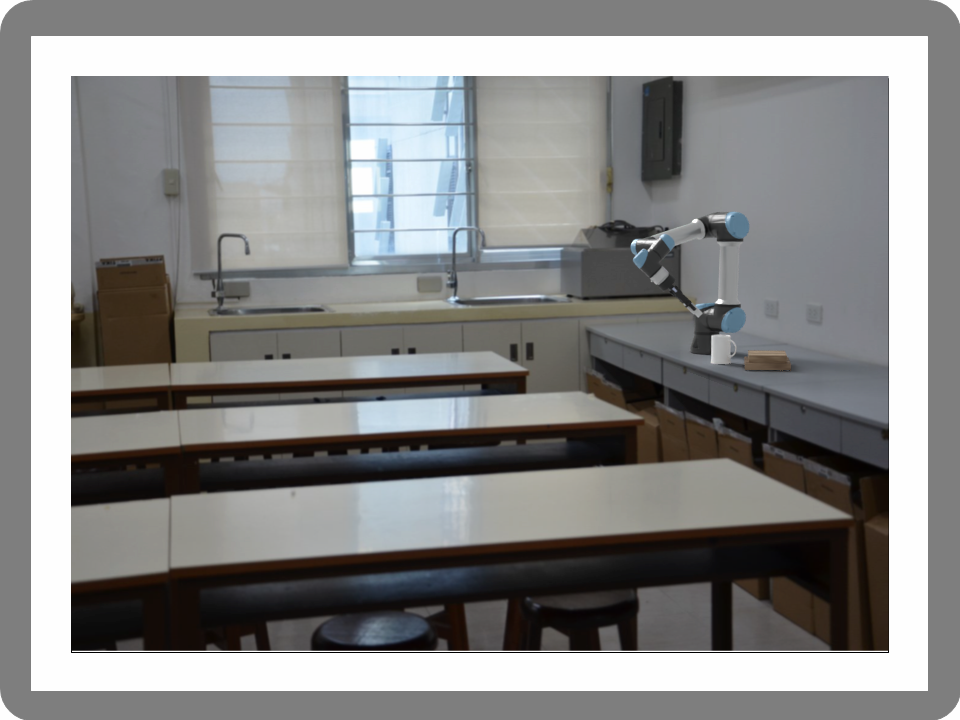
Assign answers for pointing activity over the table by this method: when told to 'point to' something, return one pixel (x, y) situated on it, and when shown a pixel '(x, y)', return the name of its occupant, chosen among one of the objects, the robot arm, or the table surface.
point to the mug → (721, 349)
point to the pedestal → (767, 360)
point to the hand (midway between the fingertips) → (698, 313)
